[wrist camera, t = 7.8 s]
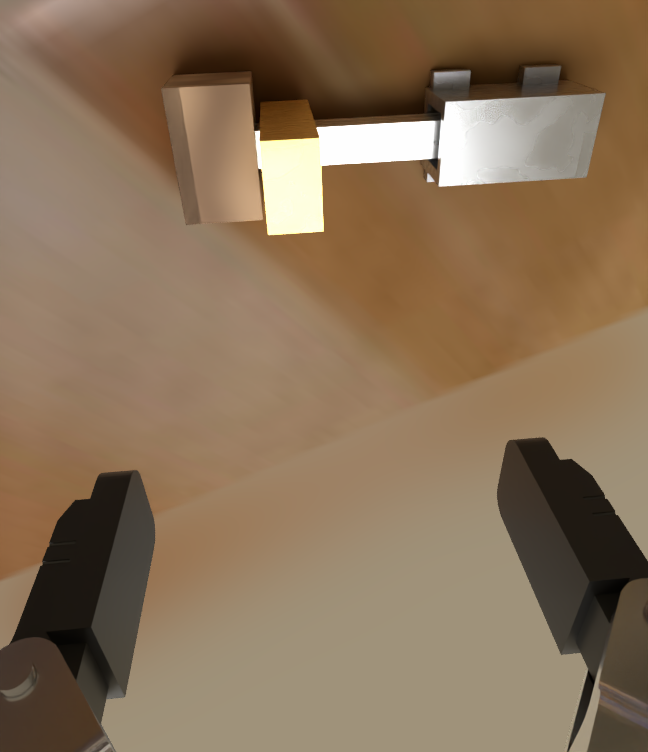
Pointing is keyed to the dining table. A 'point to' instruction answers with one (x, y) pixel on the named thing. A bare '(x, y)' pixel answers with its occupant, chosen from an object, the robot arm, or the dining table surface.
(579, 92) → the sleeve
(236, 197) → the socket block
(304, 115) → the slide bar
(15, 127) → the dining table surface
